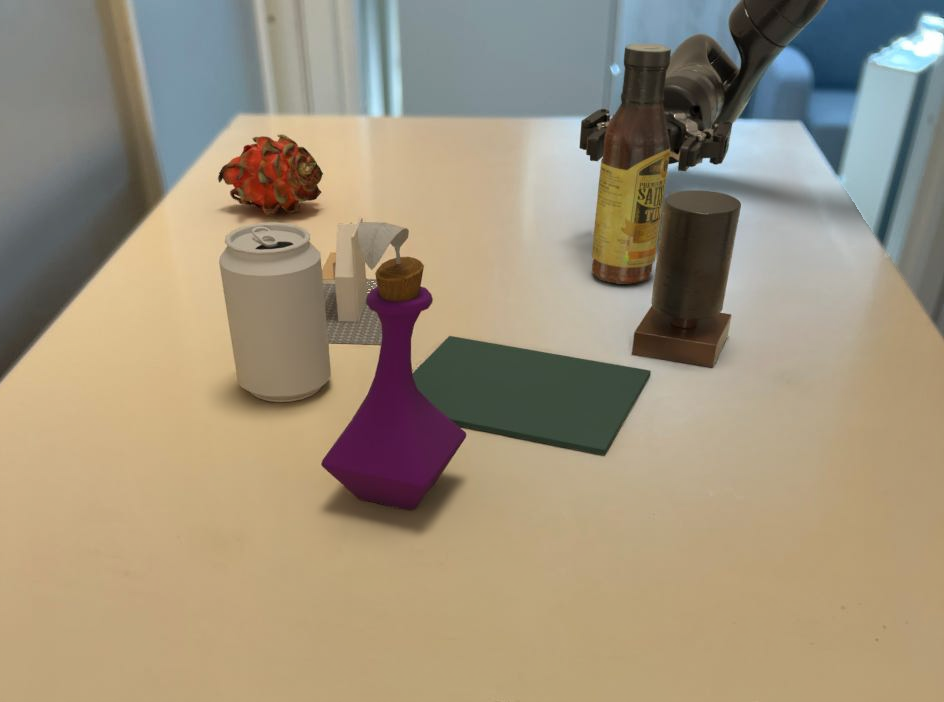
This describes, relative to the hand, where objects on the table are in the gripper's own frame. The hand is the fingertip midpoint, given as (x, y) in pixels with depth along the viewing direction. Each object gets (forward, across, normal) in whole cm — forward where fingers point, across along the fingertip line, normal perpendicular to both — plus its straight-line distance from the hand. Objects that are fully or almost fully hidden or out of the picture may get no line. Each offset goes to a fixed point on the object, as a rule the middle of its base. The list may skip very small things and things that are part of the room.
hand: (638, 154), depth 93 cm
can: (+35, -19, +11) cm, 41 cm away
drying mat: (+29, -1, +11) cm, 31 cm away
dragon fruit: (-3, -42, +11) cm, 44 cm away
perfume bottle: (+46, -4, +11) cm, 48 cm away
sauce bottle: (+1, 0, +11) cm, 11 cm away
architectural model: (+19, -21, +11) cm, 31 cm away
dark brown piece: (+15, +9, +11) cm, 21 cm away
